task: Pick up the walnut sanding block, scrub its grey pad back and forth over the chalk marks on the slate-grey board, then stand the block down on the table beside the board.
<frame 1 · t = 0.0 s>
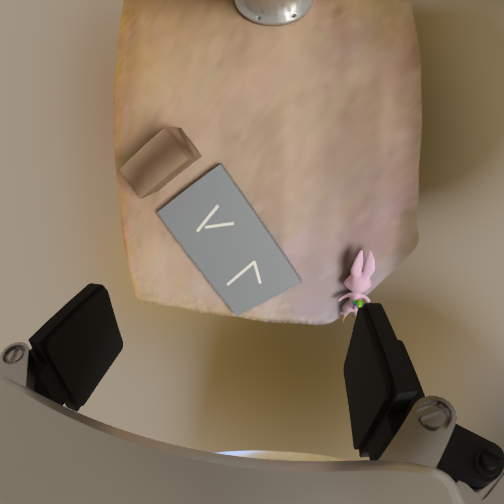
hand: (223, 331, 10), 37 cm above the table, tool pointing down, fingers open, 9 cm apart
pink plastic figure: (354, 282, 49), on the table
sanding block: (169, 159, 45), on the table
slate board: (230, 244, 49), on the table
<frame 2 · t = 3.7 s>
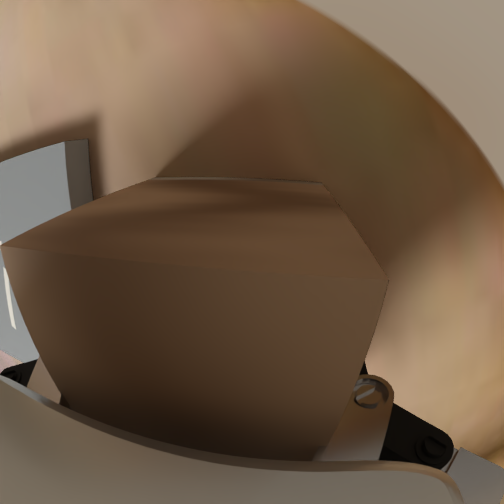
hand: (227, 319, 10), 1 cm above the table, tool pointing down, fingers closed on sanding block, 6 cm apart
sanding block: (233, 302, 11), on the table, touching gripper
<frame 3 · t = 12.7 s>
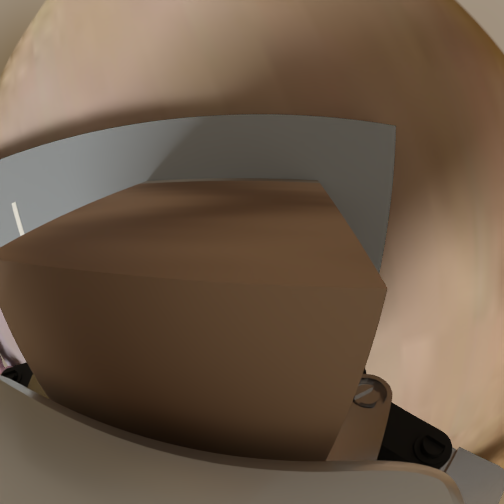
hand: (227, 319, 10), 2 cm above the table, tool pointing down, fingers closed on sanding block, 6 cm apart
sanding block: (231, 306, 11), point 2 cm above the table, touching gripper
slate board: (114, 274, 13), on the table
when the fingers open (2 cm above the table, at t = 21.8 s): sanding block drops 2 cm, on the table.
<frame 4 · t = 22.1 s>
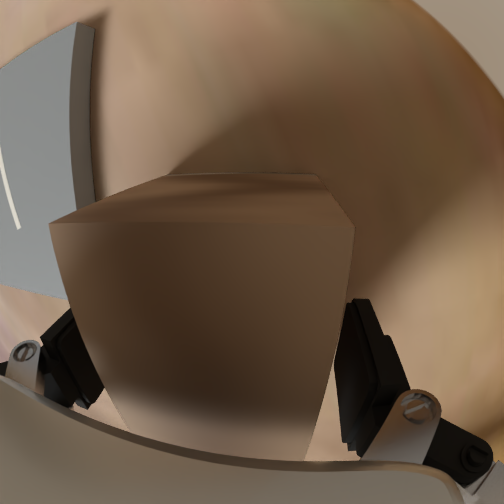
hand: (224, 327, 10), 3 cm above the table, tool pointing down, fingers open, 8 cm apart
sanding block: (241, 284, 13), on the table
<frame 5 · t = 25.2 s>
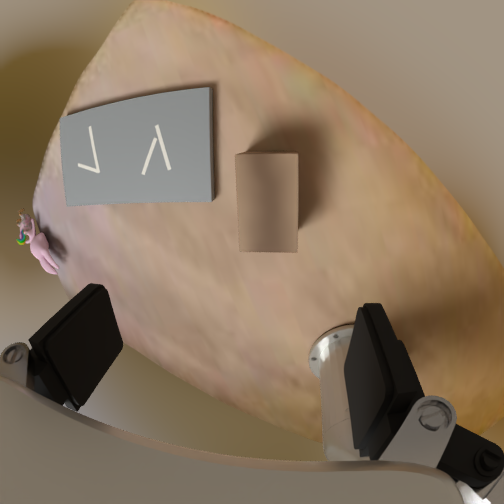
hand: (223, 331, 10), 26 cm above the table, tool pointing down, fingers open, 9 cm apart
pink plastic figure: (43, 237, 42), on the table
sanding block: (271, 192, 34), on the table
slate board: (128, 151, 34), on the table
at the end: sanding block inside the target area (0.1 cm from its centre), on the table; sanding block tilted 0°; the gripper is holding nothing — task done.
